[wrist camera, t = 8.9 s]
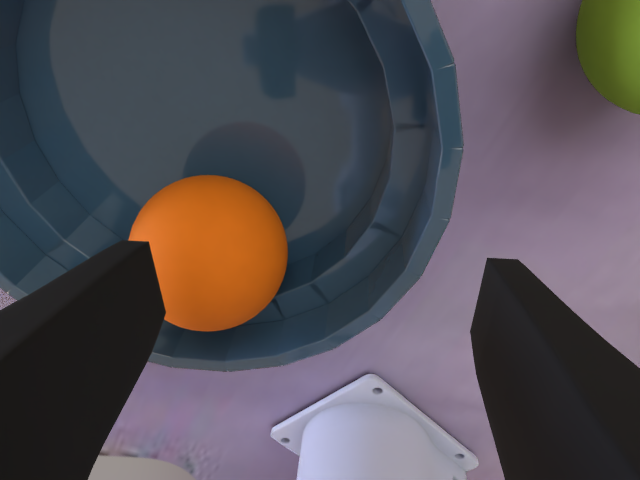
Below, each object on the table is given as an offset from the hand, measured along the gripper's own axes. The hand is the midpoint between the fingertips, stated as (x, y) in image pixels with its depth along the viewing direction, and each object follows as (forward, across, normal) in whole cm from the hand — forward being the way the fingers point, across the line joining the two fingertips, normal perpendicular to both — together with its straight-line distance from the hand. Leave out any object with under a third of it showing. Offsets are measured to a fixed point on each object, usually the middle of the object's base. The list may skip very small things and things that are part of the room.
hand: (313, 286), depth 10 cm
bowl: (+9, +5, 0) cm, 10 cm away
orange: (+6, +4, +3) cm, 8 cm away
